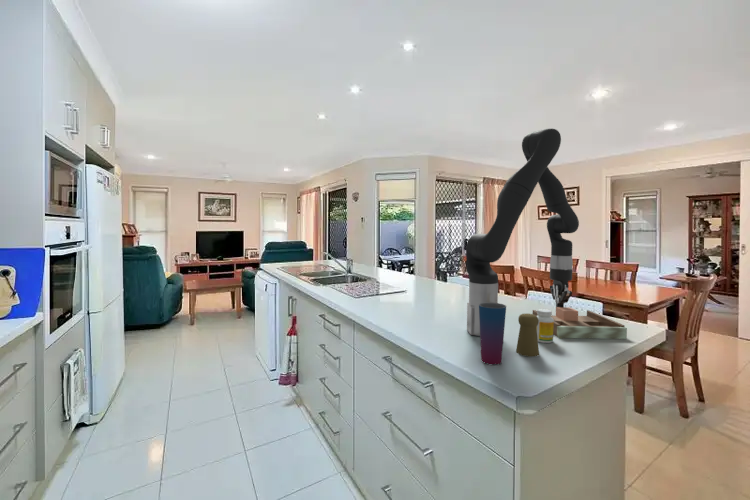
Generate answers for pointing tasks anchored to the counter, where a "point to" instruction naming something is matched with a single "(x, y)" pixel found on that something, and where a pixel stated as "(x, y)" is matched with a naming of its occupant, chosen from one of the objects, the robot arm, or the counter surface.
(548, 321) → the supplement bottle
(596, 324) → the square tray
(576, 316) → the block
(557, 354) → the counter surface
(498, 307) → the cup
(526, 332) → the cork
